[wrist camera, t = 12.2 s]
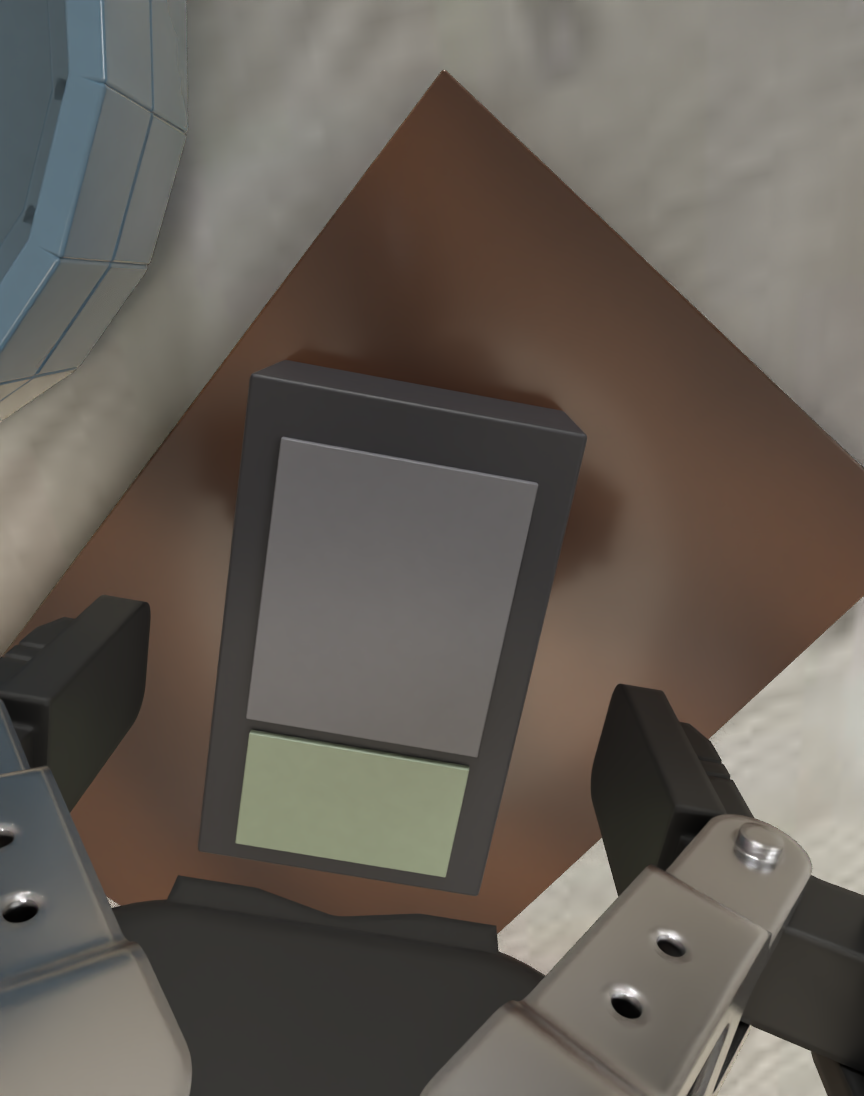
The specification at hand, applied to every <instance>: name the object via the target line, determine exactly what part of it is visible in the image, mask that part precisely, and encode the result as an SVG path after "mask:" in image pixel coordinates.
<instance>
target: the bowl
mask: <svg viewBox="0 0 864 1096" xmlns="http://www.w3.org/2000/svg"><path fill="white" fill-rule="evenodd" d="M187 131H188V80H187V6H186V0H0V422H2V421H3V420H4V419H6V418H7V417H9V416H10V415H12V414H13V413H15V412H16V411H17V410H19V409H20V408H22V407H23V406H25V405H26V404H28V403H29V402H31V401H32V400H33V399H35V398H36V397H38V396H39V395H41V394H42V393H44V392H45V391H46V390H48V389H49V388H51V387H52V386H54V385H55V384H57V383H58V382H59V381H61V380H62V379H64V378H65V377H67V376H68V375H70V374H71V373H73V372H74V371H75V370H76V369H77V367H78V366H80V365H81V364H82V363H83V361H84V360H85V358H86V357H87V355H88V354H89V353H90V351H91V350H92V348H93V347H94V345H95V344H96V343H97V341H98V340H99V338H100V337H101V335H102V334H103V333H104V331H105V330H106V328H107V327H108V325H109V324H110V322H111V321H112V320H113V318H114V317H115V315H116V314H117V312H118V311H119V310H120V308H121V307H122V305H123V304H124V302H125V301H126V300H127V298H128V297H129V295H130V294H131V292H132V291H133V290H134V288H135V287H136V285H137V284H138V282H139V281H140V280H141V278H142V277H143V275H144V274H145V272H146V271H147V268H148V267H147V265H149V264H150V262H151V259H152V256H153V252H154V249H155V245H156V242H157V238H158V235H159V231H160V228H161V224H162V221H163V217H164V214H165V211H166V207H167V204H168V200H169V197H170V193H171V190H172V186H173V183H174V179H175V176H176V172H177V169H178V165H179V162H180V158H181V155H182V151H183V148H184V144H185V141H186V133H185V132H187Z"/></svg>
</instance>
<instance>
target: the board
mask: <svg viewBox="0 0 864 1096" xmlns="http://www.w3.org/2000/svg"><path fill="white" fill-rule="evenodd" d="M283 360H289V361H295V362H300V363H306V364H311V365H316V366H322V367H327V368H333V369H338V370H344V371H349V372H354V373H360V374H365V375H371V376H376V377H382V378H387V379H392V380H398V381H403V382H409V383H414V384H420V385H425V386H430V387H436V388H441V389H447V390H452V391H458V392H463V393H468V394H474V395H479V396H485V397H490V398H496V399H501V400H506V401H512V402H517V403H523V404H528V405H534V406H539V407H544V408H550V409H555V410H561V411H563V412H565V413H566V414H567V415H568V416H569V417H570V418H571V419H572V420H573V421H574V422H575V423H576V425H577V426H578V427H579V428H580V429H581V430H582V431H583V432H584V433H585V434H586V435H587V442H586V446H585V451H584V455H583V459H582V463H581V467H580V472H579V476H578V480H577V484H576V488H575V493H574V497H573V501H572V505H571V509H570V514H569V518H568V522H567V526H566V530H565V535H564V539H563V543H562V547H561V551H560V556H559V560H558V564H557V568H556V572H555V577H554V581H553V585H552V589H551V593H550V598H549V602H548V606H547V610H546V614H545V619H544V623H543V627H542V631H541V635H540V640H539V644H538V648H537V652H536V656H535V661H534V665H533V669H532V673H531V677H530V682H529V686H528V690H527V694H526V698H525V703H524V707H523V711H522V715H521V719H520V724H519V728H518V732H517V736H516V740H515V745H514V749H513V753H512V757H511V761H510V766H509V770H508V774H507V778H506V782H505V787H504V791H503V795H502V799H501V803H500V808H499V812H498V816H497V820H496V824H495V829H494V833H493V837H492V841H491V845H490V850H489V854H488V858H487V862H486V866H485V871H484V875H483V879H482V883H481V887H480V892H479V894H478V895H477V896H470V895H464V894H458V893H452V892H445V891H439V890H433V889H427V888H421V887H415V886H408V885H402V884H396V883H390V882H384V881H378V880H371V879H365V878H359V877H353V876H347V875H341V874H334V873H328V872H322V871H316V870H310V869H304V868H297V867H291V866H285V865H279V864H273V863H267V862H260V861H254V860H248V859H242V858H236V857H230V856H224V855H217V854H211V853H205V852H200V851H198V839H199V830H200V821H201V812H202V803H203V794H204V785H205V776H206V767H207V758H208V749H209V740H210V731H211V722H212V713H213V704H214V695H215V686H216V677H217V668H218V659H219V650H220V641H221V632H222V624H223V615H224V606H225V597H226V588H227V579H228V570H229V561H230V552H231V543H232V534H233V525H234V516H235V507H236V498H237V489H238V480H239V471H240V462H241V453H242V444H243V435H244V426H245V417H246V408H247V399H248V390H249V381H250V376H251V374H252V373H255V372H257V371H259V370H262V369H264V368H267V367H269V366H271V365H274V364H276V363H278V362H281V361H283ZM101 595H108V596H114V597H120V598H126V599H132V600H138V601H144V602H148V603H149V606H150V611H151V621H150V634H149V647H148V660H147V673H146V685H145V693H144V698H143V702H142V705H141V709H140V711H139V714H138V716H137V718H136V720H135V722H134V724H133V725H132V727H131V728H130V729H129V731H128V732H127V734H126V735H125V737H124V738H123V739H122V741H121V742H120V744H119V745H118V746H117V748H116V749H115V751H114V752H113V753H112V755H111V756H110V758H109V759H108V760H107V762H106V763H105V765H104V766H103V767H102V769H101V770H100V772H99V773H98V774H97V776H96V777H95V779H94V780H93V782H92V783H91V784H90V786H89V787H88V789H87V790H86V791H85V793H84V794H83V796H82V797H81V798H80V800H79V801H78V803H77V804H76V805H75V807H74V808H73V810H72V811H71V812H70V815H71V817H72V819H73V822H74V824H75V826H76V829H77V831H78V833H79V835H80V838H81V840H82V842H83V845H84V847H85V849H86V851H87V854H88V856H89V858H90V861H91V863H92V865H93V867H94V870H95V872H96V874H97V876H98V879H99V881H100V883H101V886H102V888H103V890H104V892H105V895H106V896H107V897H108V898H110V899H111V900H113V901H114V902H116V903H117V904H119V905H120V906H122V905H127V904H131V903H136V902H144V901H151V900H163V899H167V898H168V896H169V894H170V892H171V889H172V887H173V885H174V883H175V881H176V878H177V876H178V875H180V876H186V877H193V878H199V879H205V880H211V881H218V882H224V883H230V884H237V885H243V886H249V887H256V888H259V889H262V890H265V891H267V892H270V893H273V894H275V895H278V896H281V897H283V898H286V899H289V900H292V901H294V902H297V903H300V904H302V905H305V906H308V907H311V908H313V909H316V910H319V911H321V912H324V913H327V914H330V915H334V916H366V915H391V914H416V913H420V914H426V915H432V916H439V917H445V918H451V919H458V920H464V921H470V922H477V923H483V924H489V925H496V927H497V934H498V933H499V932H500V931H501V930H502V929H503V928H504V927H505V926H507V925H508V924H509V923H510V922H511V921H512V920H513V919H514V918H515V917H516V916H517V915H518V914H520V913H521V912H522V911H523V910H524V909H525V908H526V907H527V906H528V905H529V904H530V903H531V902H533V901H534V900H535V899H536V898H537V897H538V896H539V895H540V894H541V893H542V892H543V891H544V890H546V889H547V888H548V887H549V886H550V885H551V884H552V883H553V882H554V881H555V880H556V879H557V878H559V877H560V876H561V875H562V874H563V873H564V872H565V871H566V870H567V869H568V868H569V867H570V866H572V865H573V864H574V863H575V862H576V861H577V860H578V859H579V858H580V857H581V856H582V855H583V854H585V853H586V852H587V851H588V850H589V849H590V848H591V847H592V846H593V845H594V844H595V843H596V842H598V841H599V840H600V839H601V838H602V835H601V832H600V828H599V824H598V821H597V817H596V814H595V810H594V806H593V803H592V798H591V773H592V767H593V762H594V758H595V754H596V751H597V747H598V743H599V740H600V736H601V733H602V729H603V725H604V722H605V718H606V714H607V711H608V707H609V703H610V700H611V696H612V694H613V691H614V689H615V687H616V686H617V685H618V684H626V685H632V686H638V687H644V688H650V689H656V690H661V691H663V692H664V694H665V695H666V697H667V699H668V701H669V703H670V705H671V707H672V709H673V711H674V713H675V714H676V716H677V718H678V720H679V722H684V723H690V724H691V725H692V726H693V727H694V728H696V729H697V730H698V731H699V732H700V733H701V734H702V735H704V736H705V737H706V738H707V739H709V738H710V737H711V736H712V735H713V734H715V733H716V732H717V731H718V730H719V729H720V728H721V727H722V726H723V725H724V724H725V723H726V722H728V721H729V720H730V719H731V718H732V717H733V716H734V715H735V714H736V713H737V712H738V711H739V710H741V709H742V708H743V707H744V706H745V705H746V704H747V703H748V702H749V701H750V700H751V699H752V698H754V697H755V696H756V695H757V694H758V693H759V692H760V691H761V690H762V689H763V688H764V687H765V686H767V685H768V684H769V683H770V682H771V681H772V680H773V679H774V678H775V677H776V676H777V675H778V674H780V673H781V672H782V671H783V670H784V669H785V668H786V667H787V666H788V665H789V664H790V663H791V662H793V661H794V660H795V659H796V658H797V657H798V656H799V655H800V654H801V653H802V652H803V651H804V650H806V649H807V648H808V647H809V646H810V645H811V644H812V643H813V642H814V641H815V640H816V639H817V638H819V637H820V636H821V635H822V634H823V633H824V632H825V631H826V630H827V629H828V628H829V627H830V626H832V625H833V624H834V623H835V622H836V621H837V620H838V619H839V618H840V617H841V616H842V615H843V614H845V613H846V612H847V611H848V610H849V609H850V608H851V607H852V606H853V605H854V604H855V603H856V602H858V601H859V600H860V599H861V598H862V597H863V596H864V468H863V467H862V466H861V465H860V464H859V463H858V462H857V461H856V460H855V459H854V458H853V457H852V456H851V455H849V454H848V453H847V452H846V451H845V450H844V449H843V448H842V447H841V446H840V445H839V444H838V443H837V442H836V441H835V440H834V439H833V438H832V437H831V436H830V435H828V434H827V433H826V432H825V431H824V430H823V429H822V428H821V427H820V426H819V425H818V424H817V423H816V422H815V421H814V420H813V419H812V418H811V417H810V416H809V415H807V414H806V413H805V412H804V411H803V410H802V409H801V408H800V407H799V406H798V405H797V404H796V403H795V402H794V401H793V400H792V399H791V398H790V397H789V396H788V395H786V394H785V393H784V392H783V391H782V390H781V389H780V388H779V387H778V386H777V385H776V384H775V383H774V382H773V381H772V380H771V379H770V378H769V377H768V376H767V375H765V374H764V373H763V372H762V371H761V370H760V369H759V368H758V367H757V366H756V365H755V364H754V363H753V362H752V361H751V360H750V359H749V358H748V357H747V356H746V355H744V354H743V353H742V352H741V351H740V350H739V349H738V348H737V347H736V346H735V345H734V344H733V343H732V342H731V341H730V340H729V339H728V338H727V337H726V336H725V335H723V334H722V333H721V332H720V331H719V330H718V329H717V328H716V327H715V326H714V325H713V324H712V323H711V322H710V321H709V320H708V319H707V318H706V317H705V316H704V315H702V314H701V313H700V312H699V311H698V310H697V309H696V308H695V307H694V306H693V305H692V304H691V303H690V302H689V301H688V300H687V299H686V298H685V297H684V296H683V295H681V294H680V293H679V292H678V291H677V290H676V289H675V288H674V287H673V286H672V285H671V284H670V283H669V282H668V281H667V280H666V279H665V278H664V277H663V276H662V275H660V274H659V273H658V272H657V271H656V270H655V269H654V268H653V267H652V266H651V265H650V264H649V263H648V262H647V261H646V260H645V259H644V258H643V257H642V256H641V255H639V254H638V253H637V252H636V251H635V250H634V249H633V248H632V247H631V246H630V245H629V244H628V243H627V242H626V241H625V240H624V239H623V238H622V237H621V236H620V235H618V234H617V233H616V232H615V231H614V230H613V229H612V228H611V227H610V226H609V225H608V224H607V223H606V222H605V221H604V220H603V219H602V218H601V217H600V216H599V215H597V214H596V213H595V212H594V211H593V210H592V209H591V208H590V207H589V206H588V205H587V204H586V203H585V202H584V201H583V200H582V199H581V198H580V197H579V196H578V195H576V194H575V193H574V192H573V191H572V190H571V189H570V188H569V187H568V186H567V185H566V184H565V183H564V182H563V181H562V180H561V179H560V178H559V177H558V176H557V175H555V174H554V173H553V172H552V171H551V170H550V169H549V168H548V167H547V166H546V165H545V164H544V163H543V162H542V161H541V160H540V159H539V158H538V157H537V156H536V155H534V154H533V153H532V152H531V151H530V150H529V149H528V148H527V147H526V146H525V145H524V144H523V143H522V142H521V141H520V140H519V139H518V138H517V137H516V136H515V135H513V134H512V133H511V132H510V131H509V130H508V129H507V128H506V127H505V126H504V125H503V124H502V123H501V122H500V121H499V120H498V119H497V118H496V117H495V116H494V115H492V114H491V113H490V112H489V111H488V110H487V109H486V108H485V107H484V106H483V105H482V104H481V103H480V102H479V101H478V100H477V99H476V98H475V97H474V96H473V95H471V94H470V93H469V92H468V91H467V90H466V89H465V88H464V87H463V86H462V85H461V84H460V83H459V82H458V81H457V80H456V79H455V78H454V77H453V76H452V75H450V74H449V73H448V72H447V71H446V70H442V71H441V72H440V74H439V75H438V76H437V78H436V79H435V80H434V82H433V83H432V84H431V86H430V87H429V88H428V90H427V91H426V92H425V94H424V95H423V96H422V98H421V99H420V100H419V102H418V103H417V104H416V106H415V107H414V108H413V110H412V111H411V112H410V114H409V115H408V116H407V118H406V119H405V120H404V122H403V123H402V124H401V126H400V127H399V128H398V130H397V131H396V132H395V134H394V135H393V136H392V138H391V139H390V140H389V142H388V143H387V144H386V146H385V147H384V148H383V150H382V151H381V152H380V154H379V155H378V156H377V158H376V159H375V160H374V162H373V163H372V164H371V166H370V167H369V168H368V170H367V171H366V172H365V174H364V175H363V176H362V178H361V179H360V180H359V182H358V183H357V184H356V186H355V187H354V188H353V190H352V191H351V192H350V194H349V195H348V196H347V198H346V199H345V200H344V202H343V203H342V204H341V206H340V207H339V208H338V209H337V211H336V212H335V213H334V215H333V216H332V217H331V219H330V220H329V221H328V223H327V224H326V225H325V227H324V228H323V229H322V231H321V232H320V233H319V235H318V236H317V237H316V239H315V240H314V241H313V243H312V244H311V245H310V247H309V248H308V249H307V251H306V252H305V253H304V255H303V256H302V257H301V259H300V260H299V261H298V263H297V264H296V265H295V267H294V268H293V269H292V271H291V272H290V273H289V275H288V276H287V277H286V279H285V280H284V281H283V283H282V284H281V285H280V287H279V288H278V289H277V291H276V292H275V293H274V295H273V296H272V297H271V299H270V300H269V301H268V303H267V304H266V305H265V307H264V308H263V309H262V311H261V312H260V313H259V315H258V316H257V317H256V319H255V320H254V321H253V323H252V324H251V325H250V327H249V328H248V329H247V331H246V332H245V333H244V335H243V336H242V337H241V339H240V340H239V341H238V343H237V344H236V345H235V347H234V348H233V349H232V351H231V352H230V353H229V355H228V356H227V357H226V359H225V360H224V361H223V363H222V364H221V365H220V367H219V368H218V369H217V371H216V372H215V373H214V375H213V376H212V377H211V379H210V380H209V381H208V383H207V384H206V385H205V387H204V388H203V389H202V391H201V392H200V393H199V395H198V396H197V397H196V399H195V400H194V401H193V403H192V404H191V405H190V407H189V408H188V409H187V411H186V412H185V413H184V415H183V416H182V417H181V419H180V420H179V421H178V423H177V424H176V425H175V427H174V428H173V429H172V431H171V432H170V433H169V435H168V436H167V437H166V439H165V440H164V441H163V443H162V444H161V445H160V447H159V448H158V449H157V451H156V452H155V453H154V455H153V456H152V457H151V459H150V460H149V461H148V463H147V464H146V465H145V467H144V468H143V469H142V471H141V472H140V473H139V475H138V476H137V477H136V479H135V480H134V481H133V483H132V484H131V485H130V487H129V488H128V489H127V491H126V492H125V493H124V495H123V496H122V497H121V499H120V500H119V501H118V503H117V504H116V505H115V507H114V508H113V509H112V511H111V512H110V513H109V515H108V516H107V517H106V519H105V520H104V521H103V523H102V524H101V525H100V527H99V528H98V529H97V531H96V532H95V533H94V535H93V536H92V537H91V539H90V540H89V541H88V543H87V544H86V545H85V547H84V548H83V549H82V551H81V552H80V553H79V555H78V556H77V557H76V559H75V560H74V561H73V563H72V564H71V565H70V567H69V568H68V569H67V571H66V572H65V573H64V575H63V576H62V577H61V579H60V580H59V581H58V583H57V584H56V585H55V586H54V588H53V589H52V590H51V592H50V593H49V594H48V596H47V597H46V598H45V600H44V601H43V602H42V604H41V605H40V606H39V608H38V609H37V610H36V612H35V613H34V614H33V616H32V617H31V618H30V620H29V621H28V622H27V624H26V625H25V626H24V628H23V629H22V630H21V632H20V633H19V634H18V636H17V637H16V638H15V640H14V641H13V642H12V644H11V645H10V646H9V648H8V649H7V650H6V652H8V651H9V650H10V649H11V648H12V647H14V646H15V645H19V642H20V641H21V640H22V639H23V638H24V637H25V636H27V635H28V634H29V633H30V632H31V631H33V630H34V629H35V628H36V627H39V626H41V625H44V624H46V623H49V622H52V621H54V620H57V619H60V618H62V617H68V618H74V619H75V618H76V617H77V616H79V615H80V614H81V613H82V612H83V611H84V610H85V609H86V608H87V607H88V606H90V605H91V604H92V603H93V602H94V601H95V600H96V599H97V598H98V597H100V596H101ZM6 652H5V653H6ZM5 653H4V654H3V656H2V657H4V656H5Z"/></svg>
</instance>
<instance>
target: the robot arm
mask: <svg viewBox="0 0 864 1096" xmlns="http://www.w3.org/2000/svg"><path fill="white" fill-rule="evenodd" d="M150 621H151V611H150V606H149V603H148V602H144V601H138V600H132V599H126V598H120V597H114V596H108V595H101V596H100V597H98V598H97V599H96V600H95V601H94V602H93V603H92V604H91V605H90V606H88V607H87V608H86V609H85V610H84V611H83V612H82V613H81V614H80V615H79V616H77V617H76V618H75V619H74V618H68V617H62V618H60V619H57V620H54V621H52V622H49V623H46V624H44V625H41V626H39V627H36V628H35V629H34V630H33V631H31V632H30V633H29V634H28V635H27V636H25V637H24V638H23V639H22V640H21V641H20V642H19V645H15V646H14V647H12V648H11V649H10V650H9V651H8V652H6V653H5V656H4V657H1V658H0V1096H717V1095H718V1093H719V1091H720V1089H721V1087H722V1085H723V1083H724V1081H725V1079H726V1077H727V1075H728V1073H729V1071H730V1069H731V1068H732V1066H733V1064H734V1062H735V1060H736V1058H737V1056H738V1054H739V1052H740V1050H741V1048H742V1046H743V1044H744V1042H745V1041H746V1039H747V1037H748V1035H749V1032H750V1030H751V1027H752V1026H753V1027H756V1028H758V1029H760V1030H763V1031H765V1032H768V1033H770V1034H772V1035H775V1036H777V1037H779V1038H782V1039H784V1040H786V1041H789V1042H791V1043H794V1044H796V1045H798V1046H801V1047H803V1048H805V1049H808V1050H810V1051H811V1054H812V1057H813V1060H814V1063H815V1066H816V1068H817V1070H818V1073H819V1075H820V1078H821V1080H822V1083H823V1085H824V1088H825V1090H826V1093H827V1095H828V1096H864V895H861V894H858V893H855V892H853V891H850V890H847V889H844V888H842V887H839V886H836V885H833V884H831V883H828V882H826V881H823V880H821V879H818V878H816V877H814V876H812V875H811V872H812V863H811V860H810V858H809V856H808V854H807V853H806V851H805V850H804V849H803V848H802V847H801V846H800V845H799V844H798V843H797V842H796V841H795V840H794V839H793V838H791V837H790V836H789V835H787V834H786V833H784V832H783V831H781V830H779V829H778V828H776V827H774V826H772V825H770V824H768V823H766V822H763V821H760V820H758V819H755V818H754V817H753V815H752V813H751V811H750V810H749V808H748V806H747V804H746V803H745V801H744V799H743V797H742V796H741V794H740V792H739V790H738V789H737V787H736V785H735V783H734V782H733V780H730V774H729V773H728V771H727V769H726V767H725V766H724V764H721V761H722V760H721V759H720V757H719V755H718V753H717V752H716V750H715V748H714V746H713V745H712V743H711V741H709V740H708V739H707V738H706V737H705V736H704V735H702V734H701V733H700V732H699V731H698V730H697V729H696V728H694V727H693V726H692V725H691V724H690V723H684V722H679V720H678V718H677V716H676V714H675V713H674V711H673V709H672V707H671V705H670V703H669V701H668V699H667V697H666V695H665V694H664V692H663V691H661V690H656V689H650V688H644V687H638V686H632V685H626V684H618V685H617V686H616V687H615V689H614V691H613V694H612V696H611V700H610V703H609V707H608V711H607V714H606V718H605V722H604V725H603V729H602V733H601V736H600V740H599V743H598V747H597V751H596V754H595V758H594V762H593V767H592V773H591V798H592V803H593V806H594V810H595V814H596V817H597V821H598V824H599V828H600V832H601V835H602V839H603V843H604V846H605V850H606V853H607V857H608V861H609V864H610V868H611V872H612V875H613V879H614V883H615V886H616V890H617V893H618V898H617V899H616V900H615V901H614V902H613V903H612V905H611V906H610V907H609V908H608V909H607V910H606V911H605V912H604V913H603V914H602V915H601V916H600V918H599V919H598V920H597V921H596V922H595V923H594V924H593V925H592V926H591V927H590V928H589V929H588V931H587V932H586V933H585V934H584V935H583V936H582V937H581V938H580V939H579V940H578V941H577V942H576V944H575V945H574V946H573V947H572V948H571V949H570V950H569V951H568V952H567V953H566V954H565V956H564V957H563V958H562V959H561V960H560V961H559V962H558V963H557V964H556V965H555V966H554V967H553V969H552V970H551V971H550V972H549V973H548V974H547V975H546V976H545V975H543V974H542V973H540V972H539V971H537V970H535V969H534V968H532V967H530V966H529V965H527V964H525V963H523V962H521V961H519V960H517V959H515V958H513V957H511V956H509V955H506V954H504V953H501V952H498V941H497V927H496V925H489V924H483V923H477V922H470V921H464V920H458V919H451V918H445V917H439V916H432V915H426V914H420V913H416V914H391V915H366V916H334V915H330V914H327V913H324V912H321V911H319V910H316V909H313V908H311V907H308V906H305V905H302V904H300V903H297V902H294V901H292V900H289V899H286V898H283V897H281V896H278V895H275V894H273V893H270V892H267V891H265V890H262V889H259V888H256V887H249V886H243V885H237V884H230V883H224V882H218V881H211V880H205V879H199V878H193V877H186V876H180V875H178V876H177V878H176V881H175V883H174V885H173V887H172V889H171V892H170V894H169V896H168V898H167V899H163V900H151V901H144V902H136V903H131V904H127V905H122V906H118V907H114V908H111V906H110V904H109V902H108V899H107V897H106V895H105V892H104V890H103V888H102V886H101V883H100V881H99V879H98V876H97V874H96V872H95V870H94V867H93V865H92V863H91V861H90V858H89V856H88V854H87V851H86V849H85V847H84V845H83V842H82V840H81V838H80V835H79V833H78V831H77V829H76V826H75V824H74V822H73V819H72V817H71V815H70V812H71V811H72V810H73V808H74V807H75V805H76V804H77V803H78V801H79V800H80V798H81V797H82V796H83V794H84V793H85V791H86V790H87V789H88V787H89V786H90V784H91V783H92V782H93V780H94V779H95V777H96V776H97V774H98V773H99V772H100V770H101V769H102V767H103V766H104V765H105V763H106V762H107V760H108V759H109V758H110V756H111V755H112V753H113V752H114V751H115V749H116V748H117V746H118V745H119V744H120V742H121V741H122V739H123V738H124V737H125V735H126V734H127V732H128V731H129V729H130V728H131V727H132V725H133V724H134V722H135V720H136V718H137V716H138V714H139V711H140V709H141V705H142V702H143V698H144V693H145V685H146V673H147V660H148V647H149V634H150Z"/></svg>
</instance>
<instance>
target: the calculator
mask: <svg viewBox="0 0 864 1096" xmlns="http://www.w3.org/2000/svg"><path fill="white" fill-rule="evenodd" d="M586 442H587V435H586V434H585V433H584V432H583V431H582V430H581V429H580V428H579V427H578V426H577V425H576V423H575V422H574V421H573V420H572V419H571V418H570V417H569V416H568V415H567V414H566V413H565V412H563V411H561V410H555V409H550V408H544V407H539V406H534V405H528V404H523V403H517V402H512V401H506V400H501V399H496V398H490V397H485V396H479V395H474V394H468V393H463V392H458V391H452V390H447V389H441V388H436V387H430V386H425V385H420V384H414V383H409V382H403V381H398V380H392V379H387V378H382V377H376V376H371V375H365V374H360V373H354V372H349V371H344V370H338V369H333V368H327V367H322V366H316V365H311V364H306V363H300V362H295V361H289V360H283V361H281V362H278V363H276V364H274V365H271V366H269V367H267V368H264V369H262V370H259V371H257V372H255V373H252V374H251V376H250V381H249V390H248V399H247V408H246V417H245V426H244V435H243V444H242V453H241V462H240V471H239V480H238V489H237V498H236V507H235V516H234V525H233V534H232V543H231V552H230V561H229V570H228V579H227V588H226V597H225V606H224V615H223V624H222V632H221V641H220V650H219V659H218V668H217V677H216V686H215V695H214V704H213V713H212V722H211V731H210V740H209V749H208V758H207V767H206V776H205V785H204V794H203V803H202V812H201V821H200V830H199V839H198V851H200V852H205V853H211V854H217V855H224V856H230V857H236V858H242V859H248V860H254V861H260V862H267V863H273V864H279V865H285V866H291V867H297V868H304V869H310V870H316V871H322V872H328V873H334V874H341V875H347V876H353V877H359V878H365V879H371V880H378V881H384V882H390V883H396V884H402V885H408V886H415V887H421V888H427V889H433V890H439V891H445V892H452V893H458V894H464V895H470V896H477V895H478V894H479V892H480V887H481V883H482V879H483V875H484V871H485V866H486V862H487V858H488V854H489V850H490V845H491V841H492V837H493V833H494V829H495V824H496V820H497V816H498V812H499V808H500V803H501V799H502V795H503V791H504V787H505V782H506V778H507V774H508V770H509V766H510V761H511V757H512V753H513V749H514V745H515V740H516V736H517V732H518V728H519V724H520V719H521V715H522V711H523V707H524V703H525V698H526V694H527V690H528V686H529V682H530V677H531V673H532V669H533V665H534V661H535V656H536V652H537V648H538V644H539V640H540V635H541V631H542V627H543V623H544V619H545V614H546V610H547V606H548V602H549V598H550V593H551V589H552V585H553V581H554V577H555V572H556V568H557V564H558V560H559V556H560V551H561V547H562V543H563V539H564V535H565V530H566V526H567V522H568V518H569V514H570V509H571V505H572V501H573V497H574V493H575V488H576V484H577V480H578V476H579V472H580V467H581V463H582V459H583V455H584V451H585V446H586Z"/></svg>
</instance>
